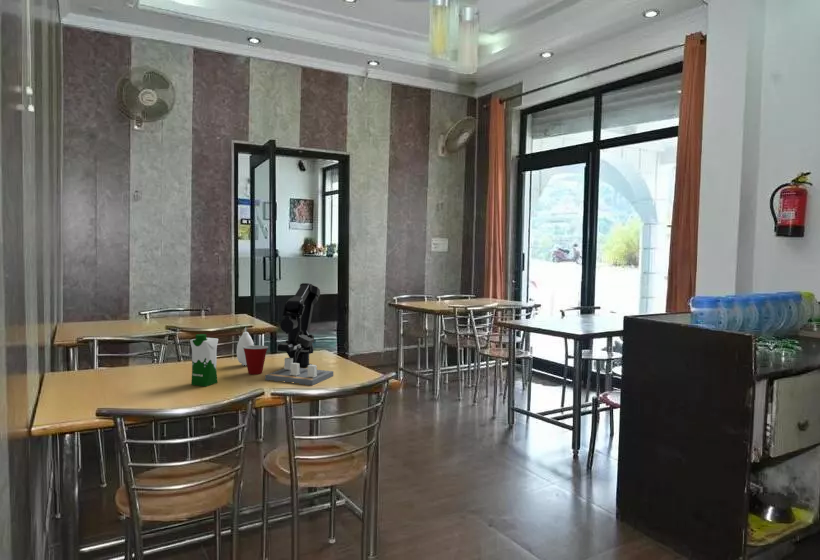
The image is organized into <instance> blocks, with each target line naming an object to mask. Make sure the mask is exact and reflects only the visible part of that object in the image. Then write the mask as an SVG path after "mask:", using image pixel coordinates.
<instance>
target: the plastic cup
mask: <svg viewBox="0 0 820 560" xmlns="http://www.w3.org/2000/svg"><path fill="white" fill-rule="evenodd" d="M268 348H269V345H257V344H256V345H252V346H243V349H244V352H245V357H246V364H247V366H246V368H247V373H248V375H261V374H263V370H264V366H265V360H266V355H267V351H268Z"/></svg>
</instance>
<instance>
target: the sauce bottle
mask: <svg viewBox="0 0 820 560" xmlns="http://www.w3.org/2000/svg"><path fill="white" fill-rule="evenodd" d="M254 344H255V343H254V340H253V339H252V336H251V335H250V333H249V332H248V331H247V326H245V329H244V331H243V332H242V335H241V336H240V337H239V340H238V341H237V346H236V358H237V360H238V363H239V364H241V366H244V365H245V366H244V367H247V366H246V365H247V364H246V357H245V352H244V349H243V346H252V345H254Z"/></svg>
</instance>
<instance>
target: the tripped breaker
mask: <svg viewBox="0 0 820 560" xmlns="http://www.w3.org/2000/svg"><path fill="white" fill-rule="evenodd" d="M291 363H293V358H289V357H285V358H284V366H283V369H286V370H291Z"/></svg>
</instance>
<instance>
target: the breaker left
mask: <svg viewBox="0 0 820 560" xmlns="http://www.w3.org/2000/svg"><path fill="white" fill-rule="evenodd" d="M317 366H318V365H316V364H312V365H308V367H307V369H308V375H307V377H313V378H314V377H316V376H317V370H318V367H317Z"/></svg>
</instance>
